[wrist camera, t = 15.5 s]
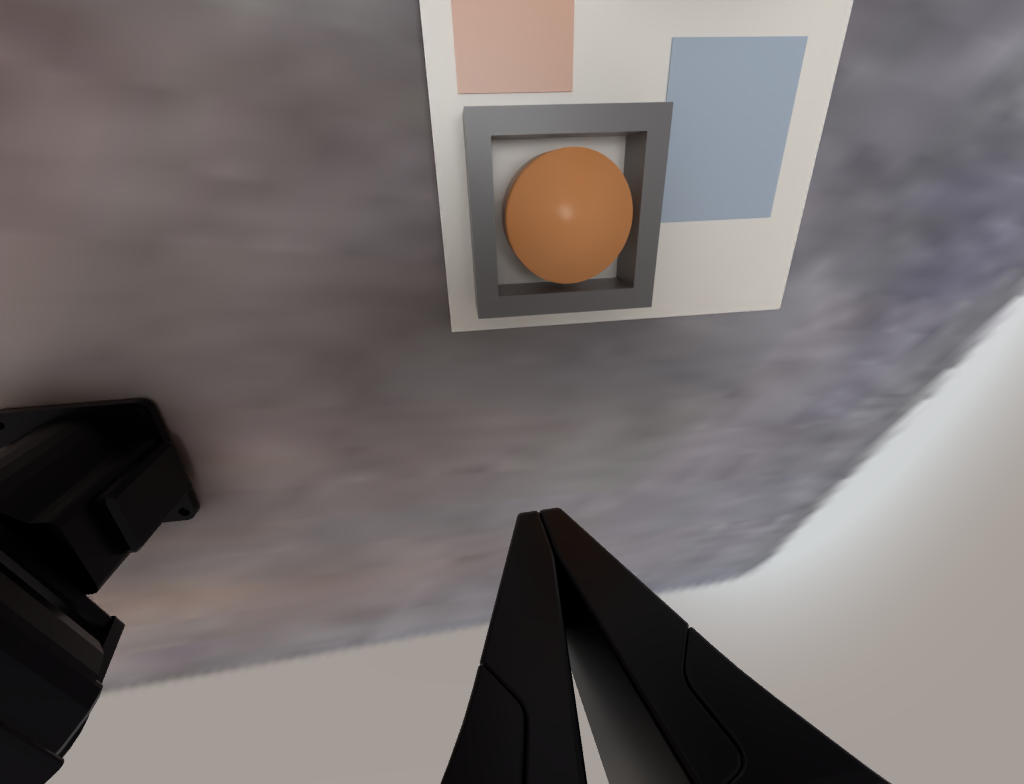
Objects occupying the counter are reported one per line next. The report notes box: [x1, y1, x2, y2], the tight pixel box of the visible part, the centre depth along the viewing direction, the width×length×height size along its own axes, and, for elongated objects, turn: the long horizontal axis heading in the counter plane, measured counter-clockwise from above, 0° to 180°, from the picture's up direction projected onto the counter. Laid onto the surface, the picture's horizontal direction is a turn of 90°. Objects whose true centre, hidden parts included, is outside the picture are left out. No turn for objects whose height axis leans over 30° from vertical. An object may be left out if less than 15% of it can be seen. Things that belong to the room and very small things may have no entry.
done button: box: [502, 147, 633, 284], centre depth 16 cm, size 4×4×2 cm
